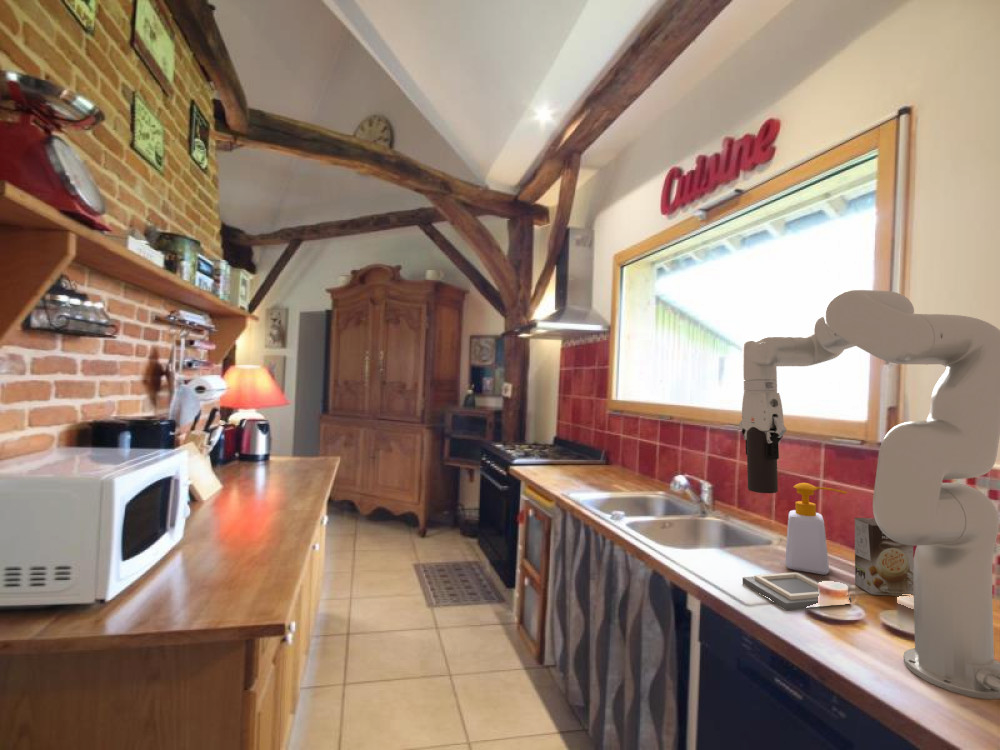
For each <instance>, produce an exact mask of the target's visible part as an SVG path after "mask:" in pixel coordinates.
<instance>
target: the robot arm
mask: <svg viewBox="0 0 1000 750" xmlns="http://www.w3.org/2000/svg"><path fill="white" fill-rule="evenodd" d="M742 345H743V346H742V358H743V360H742V361H743V365H742V366H743V394H742V395H743V396H742V404H741V406H742V407H741V421H740V422H739V423H738V427H739V429H740V430H741V434H742V435H743V439H744V441H745V456H747V431H748V430H749V429H750V428H751V427H755V428H757V429H758V430H760V431H762V432H765V436H766V439H767V442H768V443H766V444H765V448H766V459H777V460H779V458H780V453H779V452H780V451H779V450H780V448H779V444H780V443H781V440H782V439H783V437H784V435H785V433H786V431H787V428H786V426H785V424H784V423H785V422H784V412H783V405H782V404H783V403H782V400H781V395H780V393H779V392H778V380H777V379H778V372H777V371H778V370H777V369H778V368H777V367H809V366H814V365H818V364H821V363H825V362H828V361H830V360H833V359H836V358H837V357H839V356H840V355H841V354H842V353H843V352H844V351H845V350H848V349H850V348H853V347H854V348H855V347H857V348H858V349H860V350H863V351H865V352H866V353H867V354H870V355H872V356H874V357H876V358H877V359H879V360H882V361H884V362H887V363H892V364H896V365H906V366H907V365H925V366H927V365H941V366H944V367H945V371H944V373H942V375H941V376H940V377H939V379H938V380H937V382H936V383H935V385H934V387H933V390H932V393H931V397H930V398H931V399H930V408H929V412H928V416H927V418H926V419H925V420H912V421H906V422H902V423H899V424H896V425H895V426H893V427H892V428H891V429H890V430H889V431H888V432H887V433H886V434H885V436H884V438H883V439H882V441H881V443H880V446H879V450H878V455H877V456H878V457H877V466H876V474H875V482H874V487H873V489H874V490H873V497H872V512H873V517H874V518H873V519H875V521H876V523H877V525H878V527H879V528H880V530H881V531H882V532H883V533H884V534H885V535H886V536H887V537H888V538H890V539H891V540H893V541H895V542H897V543H900V544H904V545H912V546H913V547H914V546H915V550H914V554H913V579H914V596H913V609H914V610H913V615H914V616H913V619H914V621H913V622H914V648H910V649H906V650H905V651H904V652H903V662H904V665H905V666H906V667H907V669H908V670H910V671H911V672H912V673H913V674H914V675H916V676H917V677H919V678H921V679H922V680H924V681H927V682H928V683H930V684H931V685H934V686H935V687H936V686H937V687H939V688H942V689H945V690H946V691H949V692H953V693H957V694H959V695H963V696H967V697H972V698H978V699H985V700H997V699H1000V661H998V660H996V659H995V653H994V651H995V650H994V649H995V648H994V647H995V646H994V644H995V643H994V614H993V613H994V612H993V560H994V559H993V558H994V551H995V546H996V542H997V538H998V533H999V526H1000V522H999V520H1000V519H999V517H1000V516H999V513H998V511H997V508H996V506H995V504H994V503H993V502H992V500H991V499H990V498H989V497H988V496H987V495H986V494H985V493H983V492H982V491H980V490H978V489H976V488H974V487H972V486H970V485H966V484H962V483H957V482H944V481H943V480H945V481H946V480H962V479H963V480H965V479H974V478H979V477H981V476H984V475H987V473H989V472H991V470H992V469H993V468H994V465H995V464H996V462H997V456H998V455H997V454H998V452H999V451H998V449H999V445H1000V444H999V443H1000V329H999V328H998V327H997V326H995V325H993V324H992V323H990V322H988V321H985V320H983V319H979V318H977V317H972V316H968V315H967V316H966V315H961V314H960V315H959V314H941V313H939V314H937V313H935V314H933V313H931V314H930V313H929V314H928V313H925V314H923V313H915V308H914V305H913V303H912V302H911V300H910V299H909V298H908V297H906V296H905V295H903V294H901V293H898V292H895V291H892V290H891V291H890V290H877V289H876V290H873V289H872V290H871V289H867V290H866V289H851V290H846V291H842V292H841V293H838V294H837V295H835V296H834V297H833V298H832V299H831V300H830V301H829V302H828V303H827V305H826V307H825V311H824V313H823V314H821V315H820V316H819V317H817V319H816V320H815V322H814V324H813V333H811V334H807V335H794V334H793V335H790V334H788V335H787V334H786V335H785V334H784V335H783V334H782V335H780V334H779V335H778V334H777V335H766V336H764V337H761V338H756V339H749V340H746V341H745V342H744V343H743V344H742ZM751 418H752V419H754V421H751ZM751 422H755V423H751ZM770 429H772V430H770ZM770 434H773V435H772V437H771V435H770Z"/></svg>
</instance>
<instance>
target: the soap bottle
mask: <svg viewBox="0 0 1000 750" xmlns="http://www.w3.org/2000/svg"><path fill="white" fill-rule="evenodd" d="M792 488H795V489H796V493H797V494H799V495H801V500H798V501H795V503H794V504H795V509H792V510H790V511H789V512H788V519H787V531H786V546H785V562H784V564H785V565H786V566H785V567H787V569H790V570H795V571H801V572H807V573H811V574H817V575H828V574H829V572H830V565H829V555H828V547H827V536H826V527H825V521H824V516H823V515H822V514H821V513H819V512H817V505H816V503H814V502H810V496H814V495H815V491H817V490H827V491H834V492H837V493H842V494H846V495H847V494H848V492H847V491H844V490H841V489H837V488H836V489H835V488H831V487H821V486H815V485H813V484H811V483H807V482H799V483H796V484H795V485H794V486H792Z"/></svg>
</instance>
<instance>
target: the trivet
mask: <svg viewBox="0 0 1000 750" xmlns="http://www.w3.org/2000/svg"><path fill="white" fill-rule="evenodd" d="M818 582H819V581H818V580H816V579H814V578H811V577H810V576H808V575H806V574H804V573H801V572H797V571H796V572H781V573H771V574H769V573H767V574H757V575H756V574H755V575H754V576H744V577H742V585H744V586H746V587H748V588H749V589H751V591H754V592H756V593H757V592H758V593H757V594H759V593H760V594H761V596H762V595H764V596H766V597H768V598H770V599H771V600H772V601H774V604H775V603H776V604H775V605H777V606H778V607H780V608H781V607H782V608H781V609H783V608H784V609H783V610H785V611H794V610H803V609H804V608H806V607H807V606H810V605H813V604H816V603H818V596H819V592H818ZM760 594H759V595H760ZM764 596H763V597H764ZM848 597H849V600H850V602H851V603H852V597H850V596H848ZM772 601H771V602H772Z"/></svg>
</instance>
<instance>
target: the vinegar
mask: <svg viewBox="0 0 1000 750" xmlns="http://www.w3.org/2000/svg"><path fill="white" fill-rule="evenodd" d="M751 421H754V419H752V418H751ZM751 423H755V422H751ZM770 430H772V429H770ZM770 435H771V437H772V435H773V434H770ZM766 443H768V442H767V439H766V436H765V432H762V431H760V430H758V429H757V428H755V427H751V428H750V429H749V430H748V431H747V455H746V465H747V467H746V469H747V470H746V471H747V490H748V491H750V492H753V493H759V494H776V493H778V492H779V484H778V483H779V481H778V475H779V474H778V459H766V448H765V444H766Z"/></svg>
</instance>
